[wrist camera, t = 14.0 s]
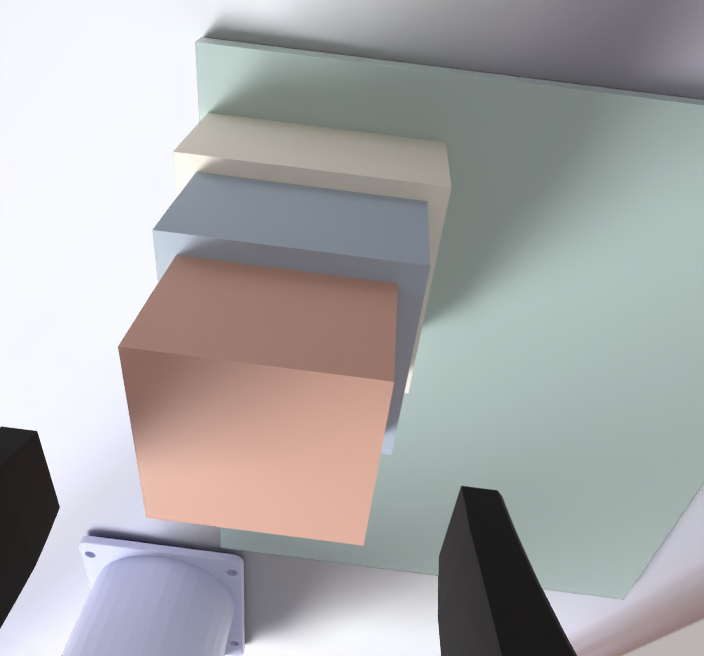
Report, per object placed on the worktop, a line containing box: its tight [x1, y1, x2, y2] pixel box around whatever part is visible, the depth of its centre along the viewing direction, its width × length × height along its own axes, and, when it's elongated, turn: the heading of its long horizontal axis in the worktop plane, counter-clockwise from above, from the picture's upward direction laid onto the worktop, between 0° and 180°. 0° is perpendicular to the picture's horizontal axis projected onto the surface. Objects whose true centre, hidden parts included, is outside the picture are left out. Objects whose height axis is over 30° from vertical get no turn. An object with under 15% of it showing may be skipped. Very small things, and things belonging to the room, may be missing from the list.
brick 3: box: [118, 255, 398, 546], centre depth 12 cm, size 4×4×3 cm
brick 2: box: [153, 172, 431, 455], centre depth 15 cm, size 6×6×3 cm
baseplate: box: [195, 37, 704, 600], centre depth 22 cm, size 22×19×1 cm
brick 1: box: [173, 113, 452, 393], centre depth 17 cm, size 6×6×3 cm
